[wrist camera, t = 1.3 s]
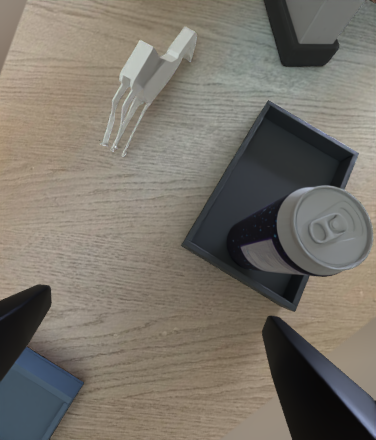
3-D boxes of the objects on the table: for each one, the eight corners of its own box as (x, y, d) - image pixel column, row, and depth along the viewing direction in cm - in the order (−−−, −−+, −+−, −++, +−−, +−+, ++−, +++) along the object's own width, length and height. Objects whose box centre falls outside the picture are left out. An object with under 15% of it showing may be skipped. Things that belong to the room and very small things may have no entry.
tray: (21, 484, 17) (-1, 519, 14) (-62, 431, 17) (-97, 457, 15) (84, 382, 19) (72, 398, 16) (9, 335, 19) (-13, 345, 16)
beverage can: (279, 258, 23) (398, 255, 11) (236, 277, 22) (316, 295, 10) (259, 214, 24) (348, 167, 12) (216, 230, 23) (269, 196, 11)
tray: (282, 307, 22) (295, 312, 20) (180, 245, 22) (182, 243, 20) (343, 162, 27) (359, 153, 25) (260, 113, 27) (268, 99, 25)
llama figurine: (142, 165, 30) (199, 47, 27) (106, 149, 19) (195, -54, 16) (131, 159, 30) (187, 40, 27) (89, 140, 19) (175, -65, 16)
